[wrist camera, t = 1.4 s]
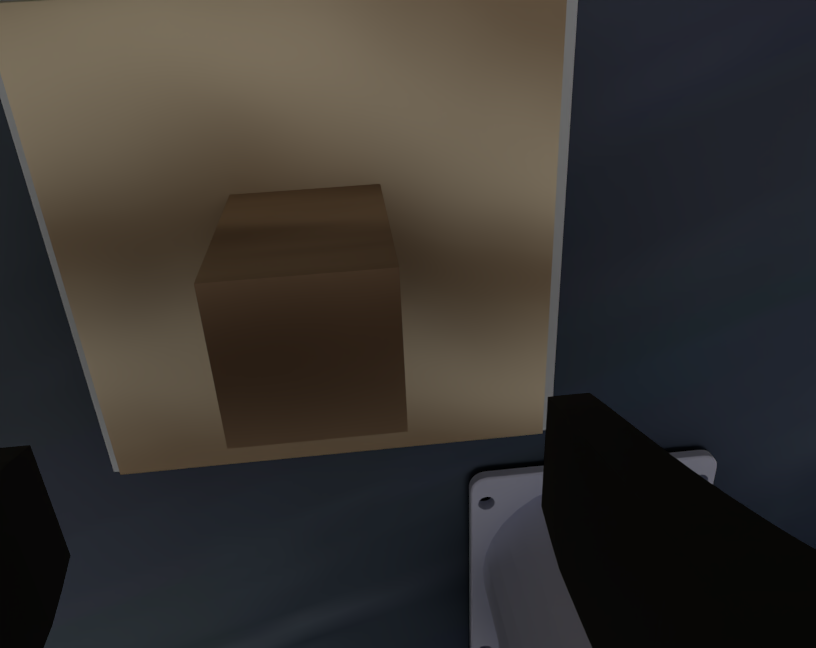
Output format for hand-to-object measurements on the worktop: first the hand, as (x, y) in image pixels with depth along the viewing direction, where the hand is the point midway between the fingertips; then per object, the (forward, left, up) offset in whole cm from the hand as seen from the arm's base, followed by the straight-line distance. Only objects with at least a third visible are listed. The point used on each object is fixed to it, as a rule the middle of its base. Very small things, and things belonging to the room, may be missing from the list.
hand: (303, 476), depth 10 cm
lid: (0, 0, -9) cm, 9 cm away
